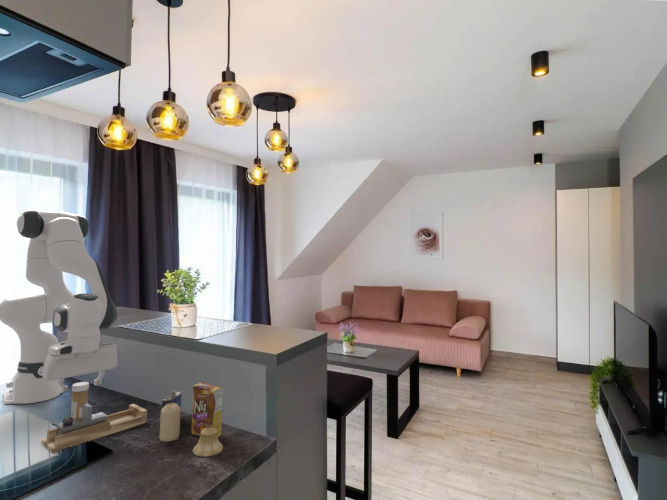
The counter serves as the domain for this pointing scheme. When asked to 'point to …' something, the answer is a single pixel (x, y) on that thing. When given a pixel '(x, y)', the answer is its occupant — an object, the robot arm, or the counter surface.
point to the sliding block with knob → (81, 421)
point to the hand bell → (208, 433)
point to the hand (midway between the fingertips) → (81, 388)
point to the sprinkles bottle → (79, 398)
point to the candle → (170, 422)
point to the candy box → (199, 407)
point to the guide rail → (96, 429)
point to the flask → (173, 399)
